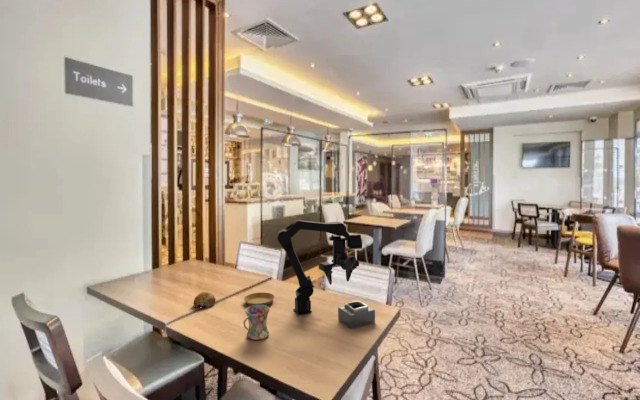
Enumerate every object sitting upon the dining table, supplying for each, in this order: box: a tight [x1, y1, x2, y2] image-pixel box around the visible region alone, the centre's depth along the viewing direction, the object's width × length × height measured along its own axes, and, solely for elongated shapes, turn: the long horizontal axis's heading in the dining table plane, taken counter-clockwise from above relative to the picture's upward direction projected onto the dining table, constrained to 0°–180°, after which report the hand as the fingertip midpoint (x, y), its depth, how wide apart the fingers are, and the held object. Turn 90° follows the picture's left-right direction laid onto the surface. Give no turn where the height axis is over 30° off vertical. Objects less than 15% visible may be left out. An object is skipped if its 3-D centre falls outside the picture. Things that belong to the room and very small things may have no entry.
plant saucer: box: [243, 292, 275, 307], centre depth 160 cm, size 15×15×3 cm
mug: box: [242, 305, 270, 341], centre depth 125 cm, size 12×9×11 cm
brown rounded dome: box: [193, 291, 216, 309], centre depth 158 cm, size 10×10×8 cm
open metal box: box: [337, 300, 376, 330], centre depth 139 cm, size 12×10×7 cm
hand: (339, 282), depth 151 cm, fingers open, 9 cm apart
